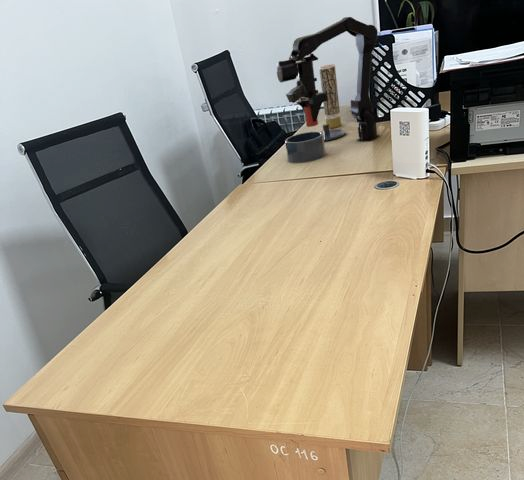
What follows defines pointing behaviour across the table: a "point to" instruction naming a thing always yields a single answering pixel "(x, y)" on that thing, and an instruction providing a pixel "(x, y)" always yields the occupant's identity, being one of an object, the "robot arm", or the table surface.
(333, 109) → the paper tube
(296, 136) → the pot
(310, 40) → the robot arm
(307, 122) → the cylinder
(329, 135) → the lid
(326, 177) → the table surface
